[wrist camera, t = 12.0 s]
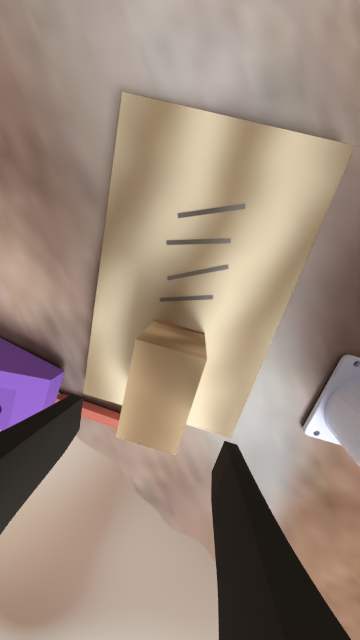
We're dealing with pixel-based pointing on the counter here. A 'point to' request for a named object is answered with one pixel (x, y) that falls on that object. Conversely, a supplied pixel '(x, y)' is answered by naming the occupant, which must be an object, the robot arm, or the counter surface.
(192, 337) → the block
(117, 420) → the red square bar
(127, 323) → the board
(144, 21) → the counter surface
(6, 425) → the bracket
